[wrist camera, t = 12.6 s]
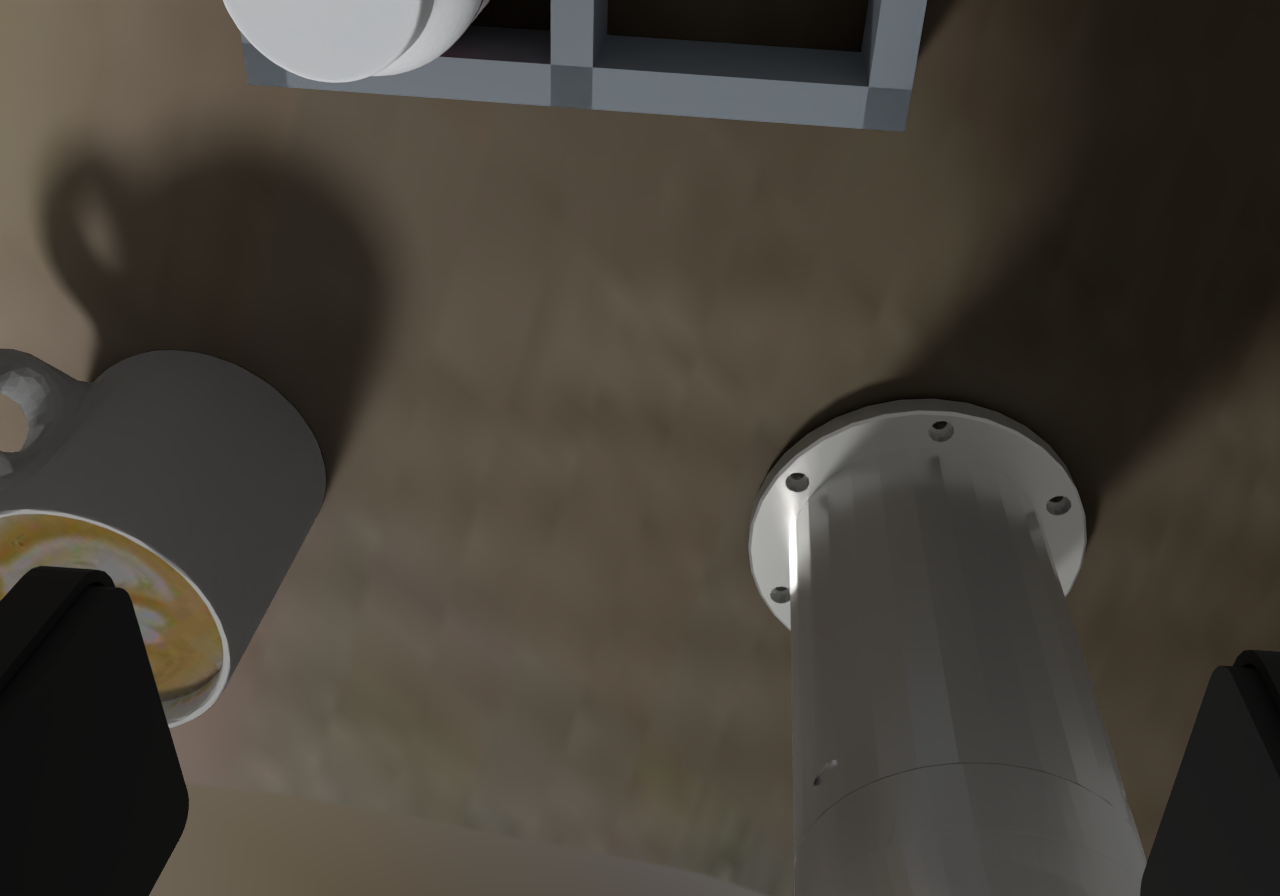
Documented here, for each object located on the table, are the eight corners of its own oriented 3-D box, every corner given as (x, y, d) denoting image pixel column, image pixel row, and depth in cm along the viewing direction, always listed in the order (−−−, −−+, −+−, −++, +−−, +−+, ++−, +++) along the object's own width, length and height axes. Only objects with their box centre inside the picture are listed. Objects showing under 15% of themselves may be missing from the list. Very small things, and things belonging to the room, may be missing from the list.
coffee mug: (373, 514, 48) (289, 693, 40) (183, 581, 51) (69, 760, 43) (169, 232, 42) (19, 375, 33) (-33, 328, 45) (-216, 481, 36)
